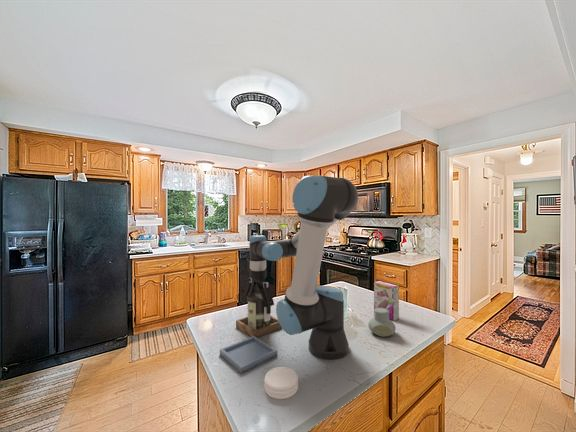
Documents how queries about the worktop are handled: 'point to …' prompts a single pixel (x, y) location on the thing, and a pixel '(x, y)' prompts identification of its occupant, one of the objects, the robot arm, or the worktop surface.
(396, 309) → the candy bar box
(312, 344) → the robot arm
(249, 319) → the coffee can
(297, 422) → the worktop surface
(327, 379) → the worktop surface
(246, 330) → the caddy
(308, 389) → the worktop surface
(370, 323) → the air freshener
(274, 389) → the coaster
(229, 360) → the tray
